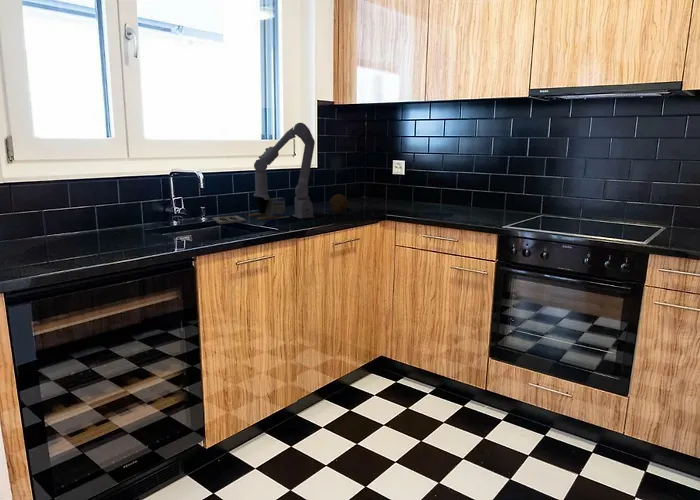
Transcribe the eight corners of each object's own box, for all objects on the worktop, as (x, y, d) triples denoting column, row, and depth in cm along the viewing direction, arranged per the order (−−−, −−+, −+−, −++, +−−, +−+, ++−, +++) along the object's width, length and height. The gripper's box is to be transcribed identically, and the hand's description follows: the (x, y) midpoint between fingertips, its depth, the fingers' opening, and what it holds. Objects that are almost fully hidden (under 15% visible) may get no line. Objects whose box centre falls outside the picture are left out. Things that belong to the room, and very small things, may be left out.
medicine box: (272, 217, 239) (271, 199, 236) (266, 216, 242) (266, 198, 240) (285, 215, 244) (285, 198, 242) (279, 214, 247) (279, 197, 245)
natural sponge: (345, 212, 254) (345, 192, 251) (351, 215, 245) (350, 194, 243) (328, 213, 251) (328, 193, 249) (333, 216, 243) (333, 195, 240)
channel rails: (278, 218, 237) (278, 215, 236) (258, 220, 232) (258, 217, 231) (268, 214, 248) (268, 212, 247) (248, 216, 243) (248, 213, 242)
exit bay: (289, 217, 240) (289, 216, 239) (279, 218, 237) (279, 217, 237) (279, 213, 250) (279, 212, 250) (269, 214, 248) (269, 213, 248)
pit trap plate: (245, 221, 229) (245, 219, 229) (220, 224, 223) (219, 221, 223) (236, 217, 240) (236, 215, 239) (212, 219, 234) (211, 217, 234)
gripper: (248, 183, 240) (249, 211, 243) (258, 186, 228) (259, 216, 231) (261, 183, 243) (262, 210, 247) (273, 186, 231) (274, 214, 234)
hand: (262, 213), depth 239 cm, fingers closed
